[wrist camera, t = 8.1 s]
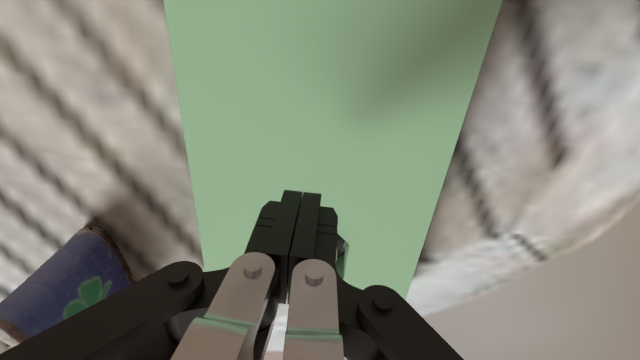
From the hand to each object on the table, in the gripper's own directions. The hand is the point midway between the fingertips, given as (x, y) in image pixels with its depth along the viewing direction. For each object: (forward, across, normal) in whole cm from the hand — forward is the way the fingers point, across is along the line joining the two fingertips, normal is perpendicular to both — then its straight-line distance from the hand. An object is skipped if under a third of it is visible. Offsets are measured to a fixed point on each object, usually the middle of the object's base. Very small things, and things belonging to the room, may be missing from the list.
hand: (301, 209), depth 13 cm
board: (+8, 0, +3) cm, 9 cm away
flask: (+8, +17, +15) cm, 24 cm away
